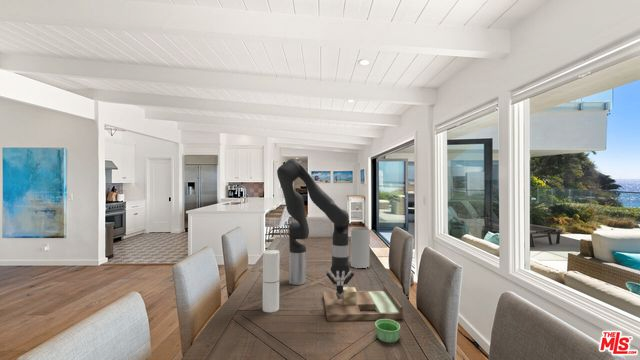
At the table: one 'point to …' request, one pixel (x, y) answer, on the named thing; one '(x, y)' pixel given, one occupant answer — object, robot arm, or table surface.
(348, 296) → the maple cube
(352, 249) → the cylinder vase
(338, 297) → the trapped grey cube
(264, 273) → the cylindrical container
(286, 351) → the table surface
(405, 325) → the table surface
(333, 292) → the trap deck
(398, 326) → the ramekin
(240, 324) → the table surface
